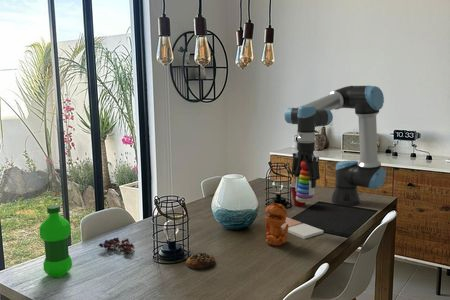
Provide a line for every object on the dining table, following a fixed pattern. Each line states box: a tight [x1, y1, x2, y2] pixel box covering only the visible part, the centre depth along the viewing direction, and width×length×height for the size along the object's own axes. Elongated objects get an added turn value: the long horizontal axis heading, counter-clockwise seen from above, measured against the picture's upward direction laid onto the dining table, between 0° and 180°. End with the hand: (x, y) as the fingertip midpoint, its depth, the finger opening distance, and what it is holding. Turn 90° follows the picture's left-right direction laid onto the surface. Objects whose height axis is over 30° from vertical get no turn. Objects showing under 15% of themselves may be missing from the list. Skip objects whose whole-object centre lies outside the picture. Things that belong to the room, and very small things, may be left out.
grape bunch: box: [97, 237, 136, 256], centre depth 176 cm, size 15×14×5 cm
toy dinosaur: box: [263, 201, 289, 246], centre depth 181 cm, size 11×11×18 cm
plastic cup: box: [289, 182, 306, 208], centre depth 235 cm, size 11×11×12 cm
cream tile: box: [287, 223, 324, 240], centre depth 195 cm, size 12×12×1 cm
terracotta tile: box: [264, 216, 303, 231], centre depth 205 cm, size 12×12×1 cm
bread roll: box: [185, 252, 216, 270], centre depth 162 cm, size 11×11×5 cm
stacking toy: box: [296, 161, 315, 204], centre depth 191 cm, size 8×8×19 cm
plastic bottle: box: [39, 204, 73, 278], centre depth 153 cm, size 10×10×25 cm
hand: (304, 192), depth 192 cm, fingers closed on stacking toy, 7 cm apart
